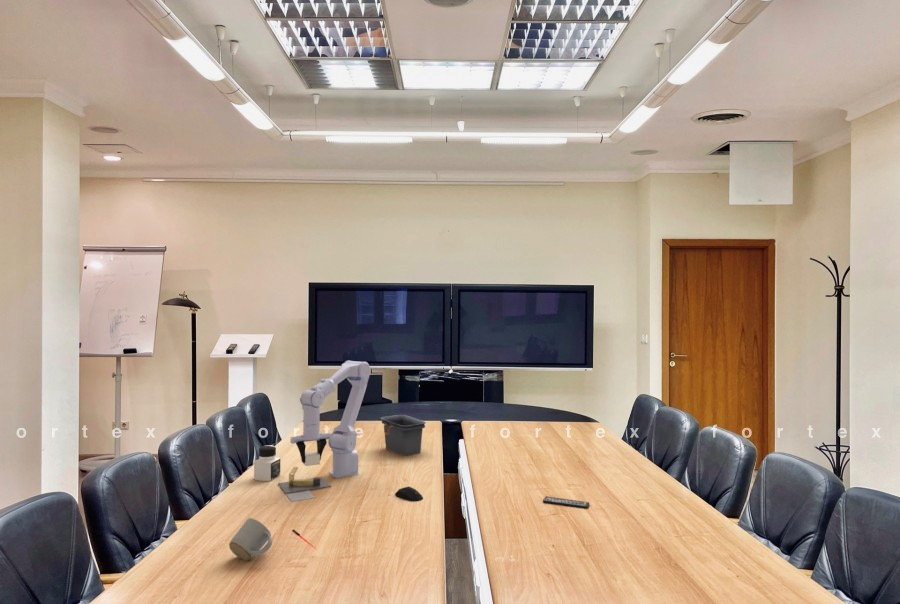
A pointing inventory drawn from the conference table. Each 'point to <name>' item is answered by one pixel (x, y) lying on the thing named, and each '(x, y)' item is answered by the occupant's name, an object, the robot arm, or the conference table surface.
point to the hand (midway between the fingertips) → (311, 461)
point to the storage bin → (403, 434)
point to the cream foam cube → (312, 458)
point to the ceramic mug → (251, 540)
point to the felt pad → (300, 496)
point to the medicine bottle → (267, 464)
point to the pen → (302, 537)
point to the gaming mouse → (409, 494)
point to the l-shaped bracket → (302, 481)
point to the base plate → (303, 487)
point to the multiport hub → (565, 502)
